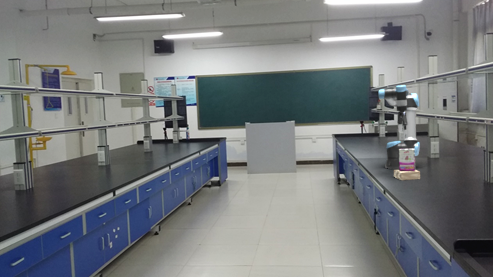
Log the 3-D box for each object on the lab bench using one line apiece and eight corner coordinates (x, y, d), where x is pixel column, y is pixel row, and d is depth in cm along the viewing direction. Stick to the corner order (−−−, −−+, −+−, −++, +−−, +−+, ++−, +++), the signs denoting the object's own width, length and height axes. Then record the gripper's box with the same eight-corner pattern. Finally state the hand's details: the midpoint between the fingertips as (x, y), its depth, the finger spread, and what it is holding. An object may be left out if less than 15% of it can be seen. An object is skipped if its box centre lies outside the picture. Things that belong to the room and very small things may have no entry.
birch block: (393, 177, 321) (393, 170, 321) (411, 176, 322) (411, 168, 322) (401, 180, 307) (401, 172, 307) (420, 179, 308) (420, 171, 308)
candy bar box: (415, 170, 314) (415, 148, 313) (415, 171, 310) (414, 149, 308) (399, 169, 319) (399, 148, 318) (399, 170, 314) (398, 149, 313)
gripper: (392, 105, 332) (393, 132, 334) (400, 106, 307) (401, 135, 309) (402, 105, 331) (403, 131, 333) (411, 105, 306) (412, 134, 308)
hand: (402, 133), depth 321 cm, fingers open, 13 cm apart
